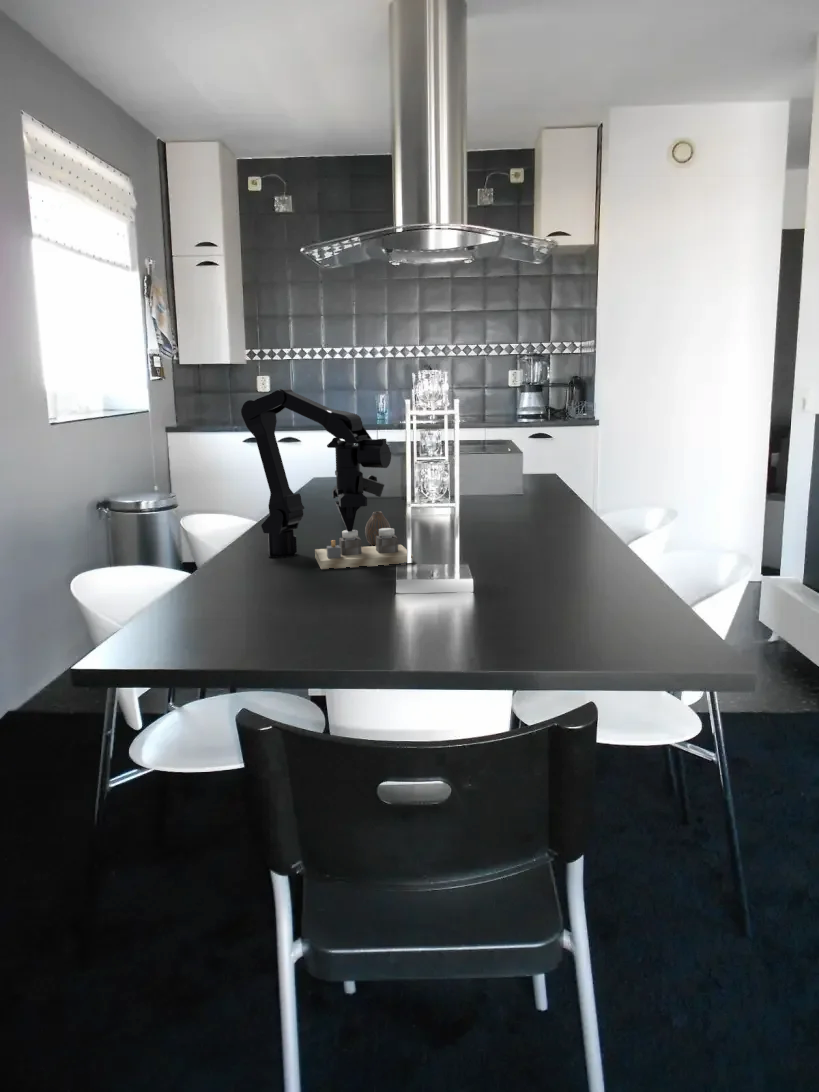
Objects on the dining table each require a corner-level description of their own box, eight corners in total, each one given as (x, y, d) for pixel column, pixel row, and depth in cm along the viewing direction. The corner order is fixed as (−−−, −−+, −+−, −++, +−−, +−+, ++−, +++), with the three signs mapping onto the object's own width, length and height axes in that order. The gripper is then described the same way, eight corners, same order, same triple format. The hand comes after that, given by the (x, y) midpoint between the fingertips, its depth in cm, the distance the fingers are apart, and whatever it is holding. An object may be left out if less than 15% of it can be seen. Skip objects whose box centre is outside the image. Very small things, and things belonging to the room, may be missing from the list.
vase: (380, 548, 217) (379, 515, 215) (360, 545, 221) (359, 512, 219) (396, 543, 222) (395, 511, 221) (376, 541, 226) (375, 509, 225)
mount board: (320, 569, 193) (320, 546, 192) (315, 557, 207) (314, 535, 206) (413, 563, 197) (412, 541, 196) (401, 552, 211) (401, 531, 210)
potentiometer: (328, 558, 195) (327, 542, 194) (326, 556, 198) (326, 539, 197) (340, 557, 196) (340, 541, 195) (339, 555, 199) (338, 539, 198)
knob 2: (380, 550, 201) (380, 531, 200) (378, 547, 204) (377, 528, 203) (396, 550, 201) (395, 530, 200) (393, 547, 205) (392, 527, 204)
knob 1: (343, 552, 199) (343, 532, 198) (341, 549, 202) (341, 530, 201) (359, 552, 199) (358, 532, 199) (357, 549, 203) (356, 529, 202)
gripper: (388, 469, 190) (389, 536, 193) (374, 462, 208) (376, 523, 211) (339, 471, 187) (341, 539, 190) (330, 463, 205) (332, 525, 208)
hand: (349, 531), depth 200 cm, fingers closed, pressing on knob 1
